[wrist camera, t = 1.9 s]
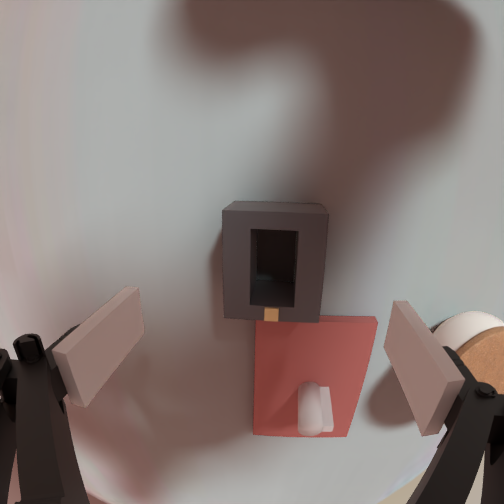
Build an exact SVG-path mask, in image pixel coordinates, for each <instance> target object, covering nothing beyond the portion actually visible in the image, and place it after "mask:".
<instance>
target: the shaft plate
mask: <svg viewBox="0 0 504 504" xmlns="http://www.w3.org/2000/svg"><path fill="white" fill-rule="evenodd" d="M377 325H378V322H377V320H376V318H375V317H374V316H319V323H301V322H280V321H278V322H277V321H262V320H256V330H255V376H254V418H253V435H266V436H283V437H346V436H347V433H348V430H349V428H350V425H351V422H352V418H353V415H354V412H355V409H356V406H357V403H358V399H359V396H360V393H361V389H362V386H363V382H364V378H365V375H366V371H367V367H368V363H369V359H370V355H371V351H372V347H373V343H374V339H375V334H376V330H377Z"/></svg>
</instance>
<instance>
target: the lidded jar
mask: <svg viewBox="0 0 504 504" xmlns="http://www.w3.org/2000/svg"><path fill="white" fill-rule="evenodd" d="M433 335H434V336H435V338H436V339H437V340H438V342H439V343H440V344H441V346H448V347H450V348H451V349H452V350H454V351H455V352H456V353H457V354H458V356H459V357H460V358H461V360H462V361H463V362H464V364H465V365H466V366H467V368H468V369H469V370H470V372H471V373H472V375H473V376H474V377H475V379H476V380H477V382H485V383H488V384H490V385H492V386H493V387H494V388H495V389H496V391H497V392H498V394H504V322H503V321H502V320H500V319H499V318H497V317H495V316H493V315H491V314H488V313H486V312H480V311H468V312H464V313H460V314H458V315H455V316H453V317H450V318H448V319H447V320H445V321H444V322H442V323H441V324H440V325H439V326H438V327H437V328H436V329H435V331H434V332H433ZM444 424H445V423H444Z"/></svg>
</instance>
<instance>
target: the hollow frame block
mask: <svg viewBox="0 0 504 504" xmlns="http://www.w3.org/2000/svg"><path fill="white" fill-rule="evenodd" d="M328 216H329V214H328V213H327V211H326V210H325V209H324V207H323V206H322V205H321V204H311V203H289V202H262V201H234V202H233V203H231V204H230V205H229V206H227V207H226V208H224V209H223V210H222V243H223V295H224V318H233V319H246V320H262V321H277V322H278V321H280V322H301V323H319V316H320V308H321V299H322V289H323V279H324V269H325V257H326V245H327V231H328ZM258 229H269V230H293V231H296V248H295V266H294V282H290V281H269V280H257V232H258Z"/></svg>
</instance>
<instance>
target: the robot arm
mask: <svg viewBox="0 0 504 504" xmlns="http://www.w3.org/2000/svg"><path fill="white" fill-rule="evenodd" d="M144 333H145V330H144V323H143V317H142V310H141V302H140V295H139V288H137V287H127V286H126V287H125V288H124V289H123V290H121V291H120V292H119V293H118V294H116V295H115V296H114V297H113V298H112V299H110V300H109V301H108V302H107V303H106V304H104V305H103V306H102V307H101V308H100V309H98V310H97V311H96V312H95V313H94V314H92V315H91V316H90V317H89V318H88V319H87V320H85V321H84V322H83V323H82V324H81V325H80V324H79V325H77V326H75V327H73V328H71V329H70V330H68V331H67V332H66V333H65V334H64V335H62V336H61V337H60V338H59V340H57V341H56V342H54V343H53V344H52V345H51V346H50V347H49V348H47V349H46V350H45V351H44V348H43V344H42V341H41V338H40V336H39V335H37V334H25V335H22V336H20V337H18V338H17V339H16V340H15V341H14V343H13V346H14V349H15V352H16V354H17V357H18V360H12V359H10V357H9V354H8V352H7V350H5V349H0V396H1V399H0V504H7V499H8V492H9V485H10V479H11V472H12V467H13V462H14V457H15V453H16V449H17V464H18V474H19V484H20V492H21V501H20V502H15V504H90V503H89V500H88V497H87V493H86V490H85V487H84V484H83V481H82V477H81V474H80V470H79V466H78V463H77V459H76V455H75V451H74V446H73V442H72V437H71V432H70V428H69V422H68V417H67V411H66V405H65V402H64V400H63V398H64V396H65V395H66V394H68V396H69V399H70V401H71V403H72V404H74V405H77V406H80V407H83V408H86V407H87V406H88V405H89V403H90V402H91V401H92V400H93V398H94V397H95V396H96V394H97V393H98V392H99V390H100V389H101V388H102V387H103V385H104V384H105V383H106V381H107V380H108V379H109V377H110V376H111V375H112V374H113V372H114V371H115V370H116V369H117V367H118V366H119V365H120V363H121V362H122V361H123V360H124V358H125V357H126V356H127V355H128V353H129V352H130V351H131V350H132V348H133V347H134V346H135V345H136V343H137V342H138V341H139V340H140V338H141V337H142V336H143V335H144ZM384 349H385V351H386V353H387V356H388V358H389V360H390V362H391V364H392V367H393V369H394V371H395V373H396V375H397V378H398V380H399V382H400V385H401V387H402V389H403V392H404V394H405V396H406V399H407V401H408V403H409V406H410V408H411V411H412V413H413V415H414V418H415V420H416V423H417V425H418V428H419V431H420V433H421V436H427V435H433V434H438V433H439V431H440V430H441V428H442V426H443V424H444V423H445V425H446V427H447V431H446V433H445V435H444V437H443V438H442V440H441V442H440V443H439V445H438V447H437V448H438V449H437V451H436V453H435V455H434V457H433V459H432V461H431V463H430V465H429V466H428V468H427V470H426V472H425V474H424V475H423V477H422V479H421V481H420V483H419V484H418V486H417V487H416V489H415V491H414V492H413V494H412V495H411V497H410V499H409V500H408V502H407V503H406V504H465V502H466V499H467V497H468V495H469V493H470V490H471V488H472V485H473V483H474V480H475V477H476V474H477V472H478V469H479V466H480V463H481V460H482V457H483V454H484V451H485V460H484V476H483V488H482V497H481V504H504V394H498V392H497V391H496V389H495V388H494V387H493V386H492V385H490V384H488V383H485V382H477V380H476V379H475V377H474V376H473V375H472V373H471V372H470V370H469V369H468V368H467V366H466V365H465V364H464V362H463V361H462V360H461V358H460V357H459V356H458V354H457V353H456V352H455V351H454V350H452V349H451V348H450V347H448V346H441V344H440V343H439V342H438V340H437V339H436V338H435V336H434V335H433V334H432V332H431V331H430V330H429V328H428V327H427V326H426V324H425V323H424V322H423V320H422V319H421V318H420V317H419V315H418V314H417V313H416V311H415V310H414V309H413V308H412V306H411V305H410V304H409V303H408V301H394V302H393V307H392V312H391V317H390V321H389V326H388V330H387V335H386V339H385V343H384Z"/></svg>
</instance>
